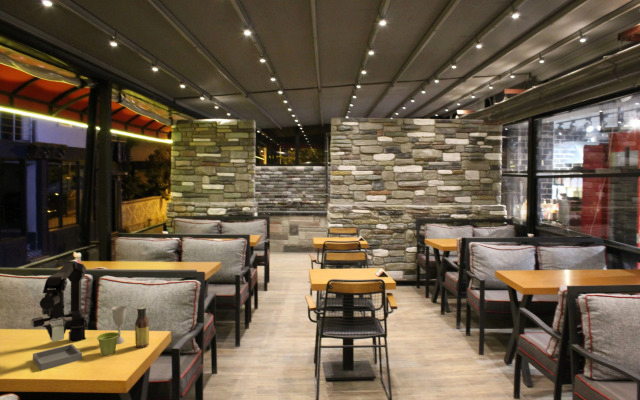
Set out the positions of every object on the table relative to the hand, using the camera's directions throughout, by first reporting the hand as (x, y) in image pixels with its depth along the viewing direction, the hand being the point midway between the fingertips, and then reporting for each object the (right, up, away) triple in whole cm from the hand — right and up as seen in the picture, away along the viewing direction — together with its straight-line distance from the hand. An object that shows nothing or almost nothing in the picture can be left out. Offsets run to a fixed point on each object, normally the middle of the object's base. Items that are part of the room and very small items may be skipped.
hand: (57, 336), depth 184 cm
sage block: (0, -1, 0) cm, 1 cm away
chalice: (+18, -11, +22) cm, 30 cm away
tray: (0, -11, 0) cm, 11 cm away
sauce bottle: (+32, -11, +16) cm, 38 cm away
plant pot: (+20, -11, +8) cm, 24 cm away
